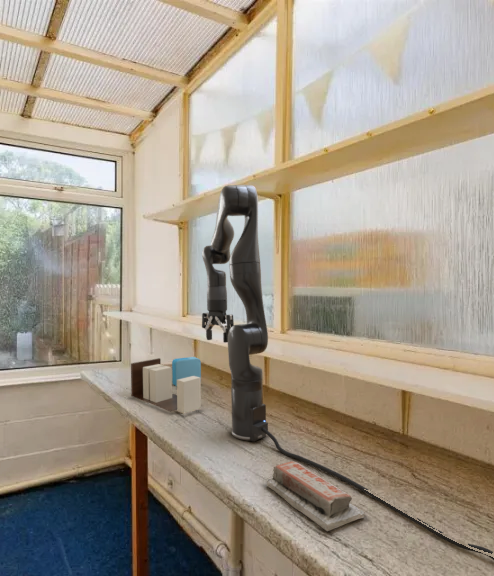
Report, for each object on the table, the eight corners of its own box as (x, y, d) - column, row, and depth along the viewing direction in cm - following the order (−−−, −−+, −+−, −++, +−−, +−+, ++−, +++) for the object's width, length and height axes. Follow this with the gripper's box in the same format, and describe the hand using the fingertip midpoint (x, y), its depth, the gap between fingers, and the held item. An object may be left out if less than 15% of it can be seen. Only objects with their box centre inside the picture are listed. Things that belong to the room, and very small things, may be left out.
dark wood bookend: (199, 405, 142) (199, 367, 142) (170, 414, 133) (170, 374, 133) (158, 391, 161) (158, 357, 161) (130, 398, 152) (130, 363, 152)
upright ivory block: (201, 411, 136) (200, 377, 136) (184, 416, 131) (183, 381, 131) (194, 408, 139) (193, 375, 138) (177, 413, 134) (176, 379, 133)
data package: (196, 382, 173) (196, 356, 173) (201, 385, 169) (200, 358, 169) (172, 386, 168) (171, 358, 168) (176, 388, 164) (175, 360, 164)
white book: (165, 395, 152) (164, 365, 151) (148, 399, 146) (148, 368, 146) (159, 393, 154) (159, 363, 154) (143, 397, 149) (142, 367, 149)
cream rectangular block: (172, 398, 148) (171, 367, 148) (155, 402, 143) (155, 370, 143) (166, 396, 151) (166, 365, 151) (150, 400, 146) (149, 369, 145)
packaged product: (264, 465, 86) (299, 455, 90) (265, 486, 86) (299, 476, 90) (327, 507, 70) (365, 494, 74) (327, 533, 70) (365, 518, 74)
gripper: (196, 298, 148) (197, 340, 148) (224, 299, 137) (225, 344, 137) (210, 297, 153) (210, 338, 153) (238, 298, 142) (238, 342, 142)
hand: (217, 341), depth 145 cm, fingers open, 8 cm apart
